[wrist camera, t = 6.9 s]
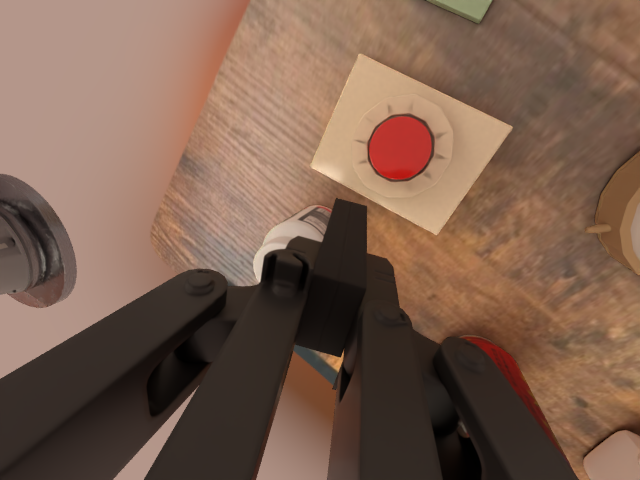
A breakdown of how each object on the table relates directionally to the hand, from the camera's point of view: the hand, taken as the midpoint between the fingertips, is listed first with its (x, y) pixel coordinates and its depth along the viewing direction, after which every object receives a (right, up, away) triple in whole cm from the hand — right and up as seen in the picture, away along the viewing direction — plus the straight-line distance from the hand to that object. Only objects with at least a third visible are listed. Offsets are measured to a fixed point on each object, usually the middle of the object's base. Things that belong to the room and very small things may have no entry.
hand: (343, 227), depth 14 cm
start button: (+5, +6, +6) cm, 10 cm away
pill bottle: (-1, 0, +14) cm, 14 cm away
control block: (+6, +7, +10) cm, 13 cm away
